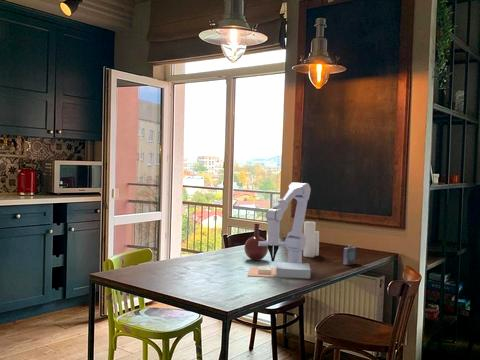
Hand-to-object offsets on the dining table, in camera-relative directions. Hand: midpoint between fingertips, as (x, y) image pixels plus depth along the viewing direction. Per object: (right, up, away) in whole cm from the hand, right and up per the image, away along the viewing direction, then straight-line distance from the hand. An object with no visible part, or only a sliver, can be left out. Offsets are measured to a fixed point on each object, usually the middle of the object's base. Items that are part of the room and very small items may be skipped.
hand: (272, 261), depth 235 cm
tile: (-4, -3, 0) cm, 5 cm away
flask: (+44, -6, +27) cm, 52 cm away
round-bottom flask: (-7, -5, +31) cm, 32 cm away
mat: (-5, -6, +1) cm, 8 cm away
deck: (+10, -6, -1) cm, 12 cm away
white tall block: (+26, -5, +49) cm, 55 cm away
